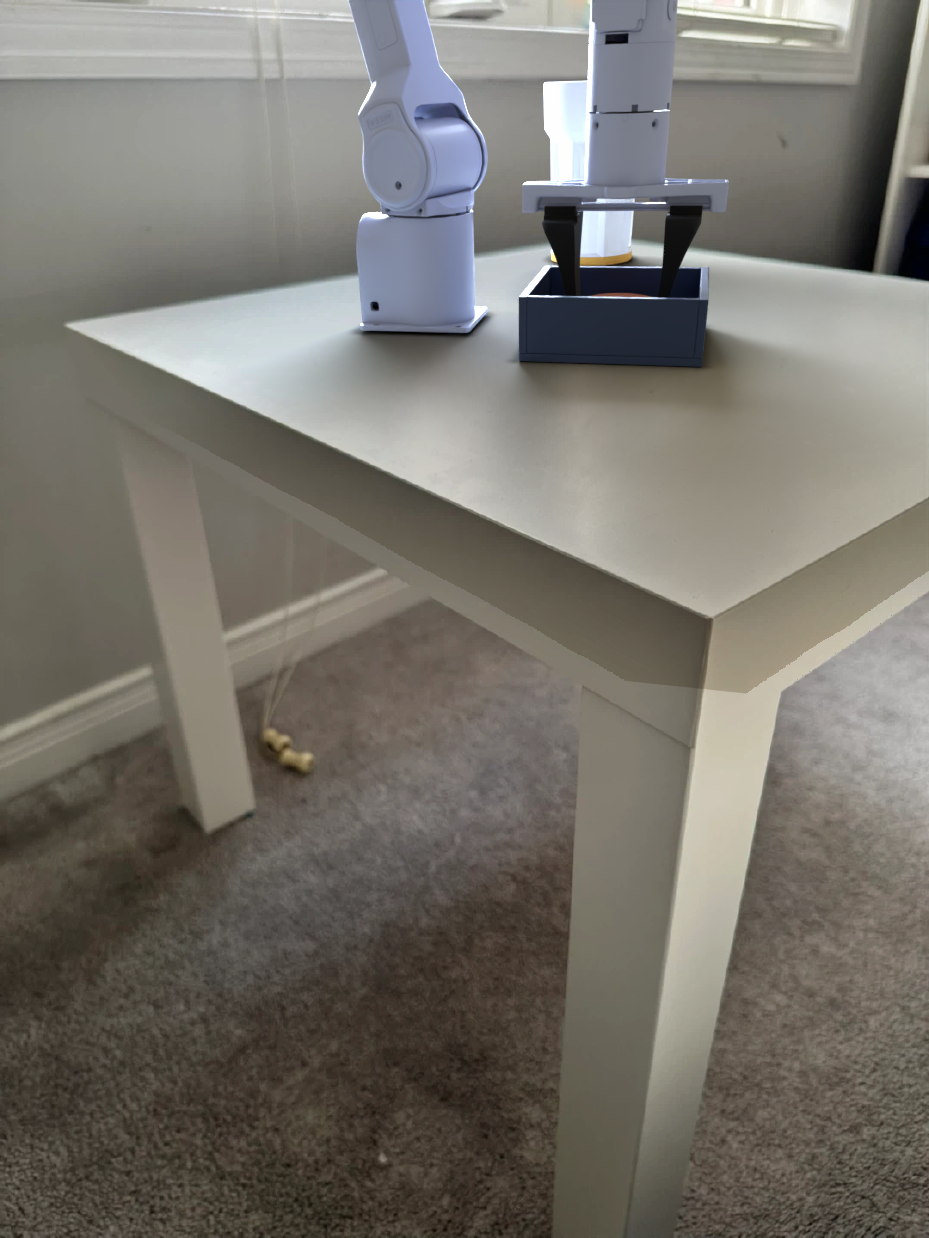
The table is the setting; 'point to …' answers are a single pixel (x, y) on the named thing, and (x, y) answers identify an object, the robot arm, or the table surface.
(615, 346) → the tub
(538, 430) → the table surface
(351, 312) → the table surface
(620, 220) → the cup
